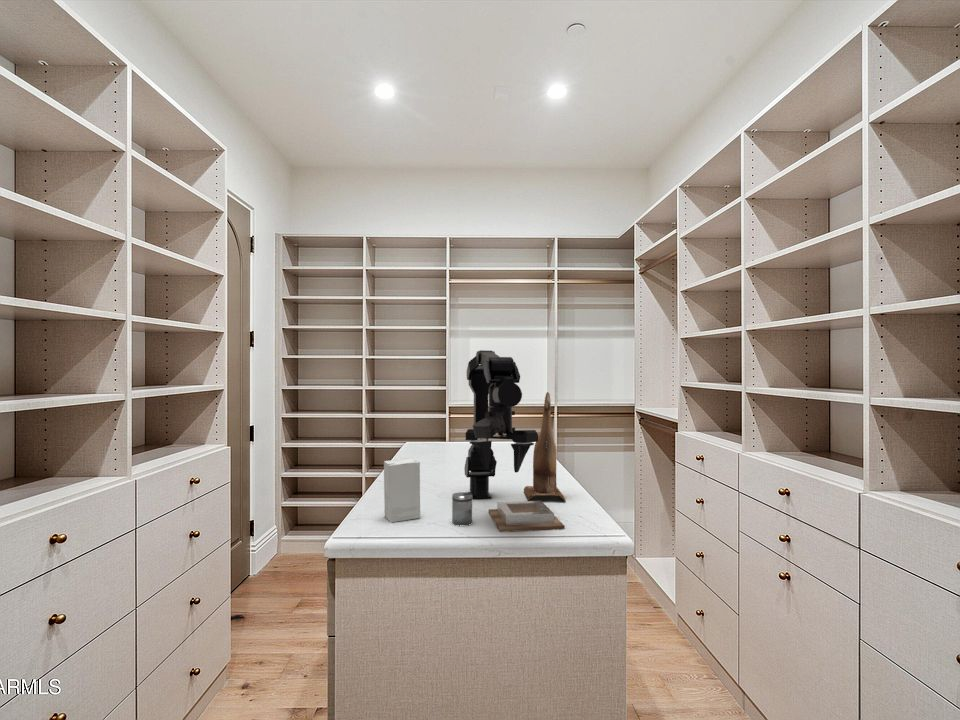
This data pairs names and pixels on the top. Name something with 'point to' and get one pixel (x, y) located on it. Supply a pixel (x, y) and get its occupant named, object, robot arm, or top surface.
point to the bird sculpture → (544, 459)
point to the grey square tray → (525, 513)
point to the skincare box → (402, 489)
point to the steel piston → (462, 508)
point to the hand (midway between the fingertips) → (501, 470)
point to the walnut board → (503, 527)
